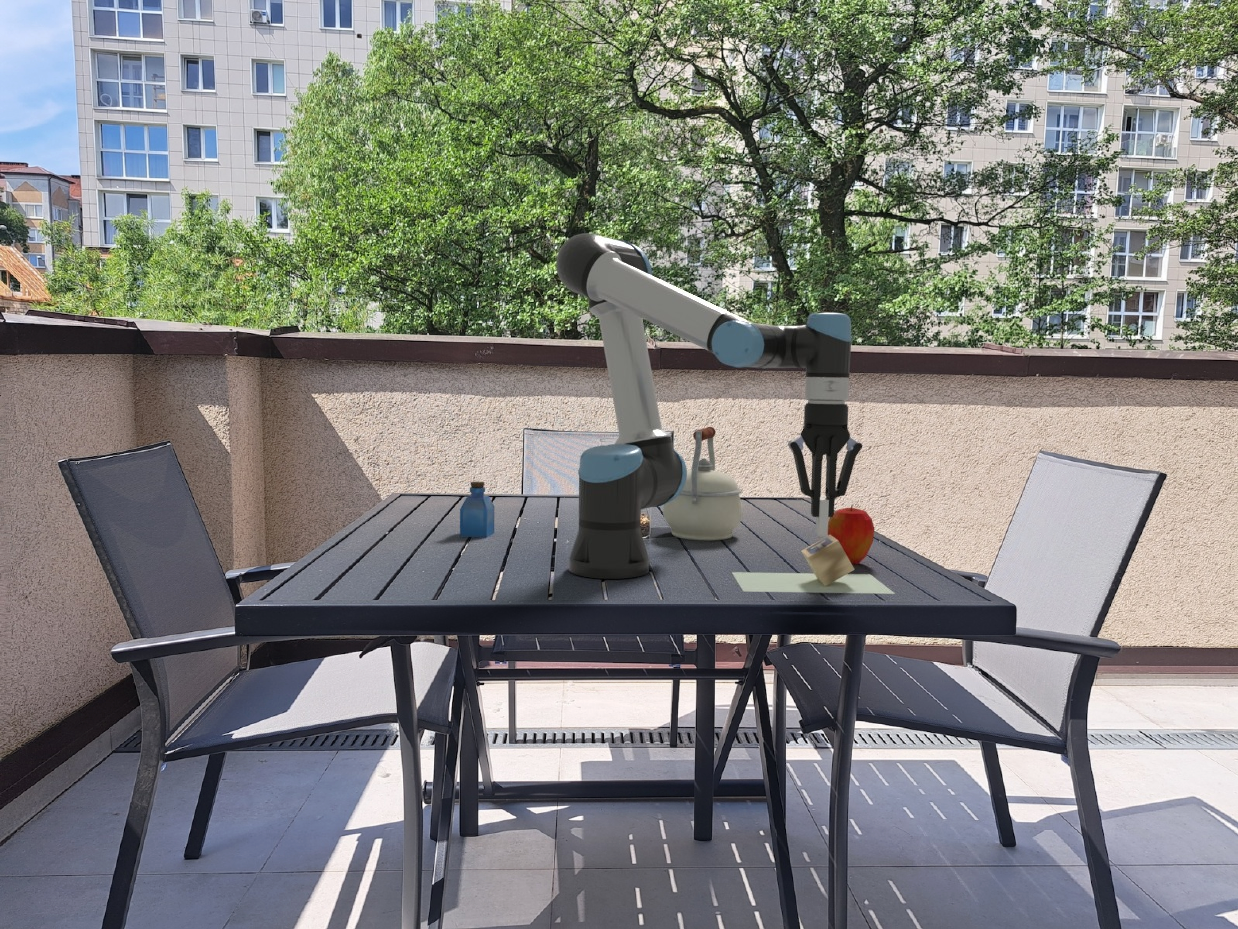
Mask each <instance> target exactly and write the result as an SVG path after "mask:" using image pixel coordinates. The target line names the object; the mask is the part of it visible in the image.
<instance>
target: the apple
mask: <svg viewBox="0 0 1238 929" xmlns="http://www.w3.org/2000/svg"><path fill="white" fill-rule="evenodd" d="M853 506H854V505H853V504H851V507H846V508H841V509H837V510H836V511H834V515H833V517H829V518H828V535H831V536H833V537H834V538H835V539H837V540H838V541H839V543H840V545H841V546H842V548H843V550H844V552H845V553H846V555H847V557H848V559H849V560H850V562H851V564H852V565H859V564H860V563H861V562H862V561H863V560H864V559H865V558H866V557H867V556H868V553H869V551H870V549H871V547H872V545H873V543H874V536H875V534H874V533H875V525H874V522H873V518H872V517H871V516H870V515H869V513H868V512H867V511H866V510H864V509H859V508H856V507H853Z"/></svg>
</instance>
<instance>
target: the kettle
mask: <svg viewBox="0 0 1238 929" xmlns="http://www.w3.org/2000/svg"><path fill="white" fill-rule="evenodd" d="M716 434H717V433H716V429H715V428H714V427H713V426H707V427H705V428H701V429H697V430H695V431H694V432H693V439H694V441H695V444H694V445H695V446H694V452H693V453H694V454H693V458H692V465H691V470H687V479H686V483H685V486H684V488H683V490H682V491H681V493H680V494H679V496H678V497H677V498H675V499H674V500H673V501H671V502H668V503H666V504H664V505H662V515H663V518H664V521H665V523H667V525H668V526H669V527H670V529H672V530H671V534H672V535H673V536H674V537H676V538H679V539H684V540H690V541H702V542H703V541H724V540H729V539H730V538H732V537H733V536H734V533H733V531H734V530H735V529H736V528H737V527H738V526H739V524H740V523H741V521H742V518H743V515H744V514H743V509H744V508H743V504H742V501H741V497H740V494H741V493H743V492H742V488H739V486H738V483H737V481H736V480H735V479H734V478H733V477H732V476H731V475H729V474H727V473H725V472H723V471H719V470H716V457H715V449H714V448H715V447H714V437H715V435H716ZM706 440H707V452H708V459H706V458H701V453H702V444H703V443H702V442H703V441H706Z"/></svg>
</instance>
